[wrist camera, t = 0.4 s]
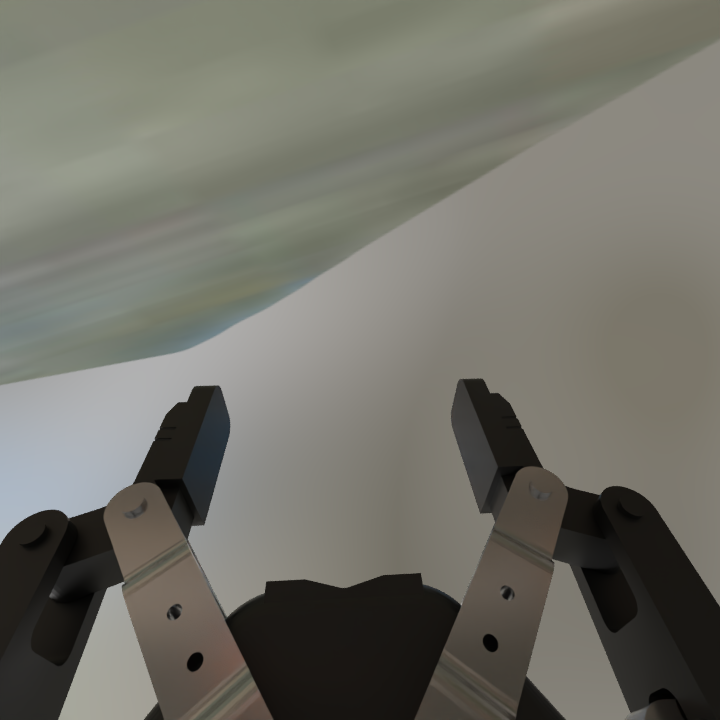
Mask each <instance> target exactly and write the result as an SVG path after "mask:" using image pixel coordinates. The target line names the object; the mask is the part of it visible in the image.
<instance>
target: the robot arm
mask: <svg viewBox="0 0 720 720" xmlns="http://www.w3.org/2000/svg"><path fill="white" fill-rule="evenodd" d="M451 421H452V427H453V431H454V434H455V437H456V440H457V443H458V446H459V449H460V452H461V456H462V459H463V462H464V465H465V468H466V471H467V474H468V477H469V480H470V483H471V486H472V490H473V492H474V496H475V499H476V502H477V505H478V508H479V511H480V513H492V514H493V517H494V520H495V524H494V526H493V529H492V531H491V534H490V536H489V539H488V540H487V543H486V545H485V548H484V550H483V552H482V555H481V557H480V560H479V562H478V564H477V567H476V569H475V572H474V574H473V576H472V579H471V581H470V584H469V586H468V588H467V591H466V593H465V595H464V598H463V600H462V602H461V605H460V604H459V603H458V602H457V601H456V600H454V599H453V598H451V597H450V596H449V595H447V594H445V593H444V592H442V591H440V590H438V589H435V588H433V587H430V586H427V585H423V584H422V578H421V573H416V574H398V575H383V576H380V577H377V578H374V579H371V580H369V581H366V582H363V583H360V584H357V585H354V586H351V587H348V588H339V587H335V586H330V585H326V584H321V583H318V582H313V581H309V580H288V581H268V582H266V589H265V593H264V594H261V595H259V596H257V597H255V598H253V599H251V600H249V601H247V602H246V603H244V604H243V605H241V606H240V607H238V608H237V609H236V610H235V611H234V612H232V613H231V614H230V615H229V616H228V617H227V616H226V614H225V612H224V610H223V608H222V606H221V604H220V603H219V600H218V599H217V597H216V595H215V593H214V591H213V589H212V587H211V585H210V583H209V581H208V579H207V577H206V575H205V573H204V571H203V569H202V567H201V565H200V563H199V561H198V559H197V557H196V555H195V553H194V551H193V549H192V547H191V545H190V543H189V541H188V536H189V532H190V529H191V526H197V525H198V526H199V525H204V524H205V520H206V517H207V513H208V510H209V506H210V502H211V499H212V495H213V492H214V488H215V485H216V481H217V477H218V473H219V470H220V467H221V463H222V460H223V456H224V452H225V449H226V445H227V442H228V438H229V434H230V418H229V414H228V411H227V407H226V404H225V401H224V397H223V394H222V391H221V388H220V387H219V386H196V387H194V388H193V390H192V392H191V394H190V396H189V399H188V401H187V402H179V403H177V404H176V405H175V406H174V407H173V408H172V409H171V410H170V411H169V412H168V413H167V414H166V416H165V418H164V420H163V422H162V424H161V426H160V430H159V431H158V433H157V435H156V437H155V441H153V443H152V445H151V447H150V450H149V452H148V454H147V456H146V458H145V460H144V462H143V464H142V467H141V469H140V471H139V473H138V475H137V477H136V479H135V482H134V483H133V485H131V486H128V487H126V488H125V489H123V490H121V491H120V492H119V493H117V494H116V495H115V496H114V497H113V498H112V499H111V500H110V502H109V503H108V505H107V506H105V507H103V508H100V509H97V510H94V511H91V512H88V513H84V514H81V515H78V516H75V517H72V518H68V517H67V516H66V515H65V514H64V513H63V512H61V511H59V510H46V511H41V512H38V513H36V514H33V515H31V516H29V517H27V518H26V519H24V520H23V521H21V522H20V523H19V524H17V525H16V526H15V527H14V528H13V529H12V530H11V531H10V532H9V533H8V534H7V535H6V537H5V538H4V540H3V541H2V543H1V545H0V720H58V718H59V716H60V713H61V710H62V708H63V705H64V701H65V699H66V697H67V694H68V691H69V689H70V686H71V683H72V681H73V678H74V675H75V673H76V670H77V667H78V665H79V662H80V659H81V657H82V654H83V651H84V649H85V646H86V643H87V640H88V638H89V635H90V632H91V630H92V627H93V624H94V622H95V619H96V616H97V614H98V611H99V608H100V606H101V602H102V600H103V597H104V595H105V592H106V589H107V588H108V587H111V586H114V585H116V584H119V583H121V582H125V584H124V585H122V592H123V596H124V599H125V602H126V605H127V609H128V611H129V614H130V618H131V621H132V624H133V627H134V630H135V633H136V636H137V639H138V642H139V645H140V648H141V651H142V654H143V657H144V660H145V663H146V666H147V669H148V672H149V675H150V678H151V681H152V684H153V687H154V690H155V693H156V696H157V699H158V703H157V704H156V705H155V707H154V708H153V709H152V710H151V712H150V713H149V714H148V715H147V716H146V718H145V719H144V720H566V719H565V718H564V717H563V716H562V715H561V714H560V713H559V712H558V711H557V710H556V708H555V707H554V706H553V705H552V704H551V703H550V702H549V701H548V700H547V699H546V698H545V696H544V695H543V694H542V693H541V692H540V691H539V690H538V689H537V688H536V686H534V684H533V683H532V682H531V681H530V680H529V679H528V678H527V676H526V674H527V670H528V666H529V662H530V659H531V655H532V651H533V647H534V643H535V640H536V636H537V632H538V628H539V624H540V621H541V617H542V613H543V609H544V605H545V602H546V598H547V594H548V590H549V586H550V583H551V579H552V575H553V571H554V562H553V561H552V559H555V560H558V561H561V562H565V563H568V564H570V566H571V568H572V571H573V573H574V576H575V578H576V581H577V583H578V586H579V588H580V590H581V593H582V595H583V598H584V600H585V603H586V605H587V608H588V610H589V612H590V615H591V617H592V620H593V622H594V625H595V627H596V629H597V632H598V634H599V637H600V639H601V642H602V644H603V647H604V649H605V651H606V654H607V656H608V659H609V661H610V664H611V666H612V668H613V671H614V673H615V676H616V678H617V681H618V683H619V686H620V688H621V690H622V693H623V695H624V698H625V700H626V702H627V705H628V708H629V710H630V712H631V713H630V714H629V715H628V716H627V717H626V718H625V720H720V606H719V605H718V603H717V602H716V600H715V599H714V597H713V596H712V594H711V593H710V591H709V589H708V588H707V586H706V585H705V584H704V582H703V580H702V579H701V577H700V576H699V574H698V573H697V571H696V570H695V568H694V566H693V565H692V564H691V562H690V560H689V559H688V557H687V556H686V554H685V553H684V551H683V550H682V548H681V547H680V545H679V544H678V542H677V540H676V539H675V537H674V536H673V534H672V533H671V531H670V530H669V528H668V527H667V525H666V524H665V522H664V521H663V519H662V518H661V516H660V514H659V513H658V511H657V510H656V508H655V507H654V506H653V505H652V504H651V503H650V501H648V500H647V499H646V498H645V497H643V496H642V495H641V494H639V493H637V492H635V491H633V490H631V489H628V488H625V487H620V486H612V487H608V488H606V489H605V490H604V491H603V492H602V493H601V495H597V494H593V493H589V492H585V491H580V490H576V489H573V488H569V487H567V486H565V485H564V484H563V482H562V481H561V480H560V479H559V478H558V477H557V476H556V475H554V474H553V473H552V472H550V471H548V470H546V469H544V468H543V467H542V465H541V463H540V461H539V460H538V457H537V455H536V453H535V452H534V450H533V448H532V446H531V444H530V442H529V440H528V438H527V436H526V434H525V432H524V430H523V429H522V428H521V424H520V423H519V420H518V419H517V418H516V415H515V413H514V411H513V409H512V407H511V405H510V403H509V402H507V401H506V400H505V399H504V398H503V397H502V396H501V395H500V394H499V393H490V392H489V390H488V388H487V386H486V384H485V382H484V380H483V379H460V380H459V381H458V384H457V388H456V393H455V397H454V402H453V406H452V411H451Z"/></svg>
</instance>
